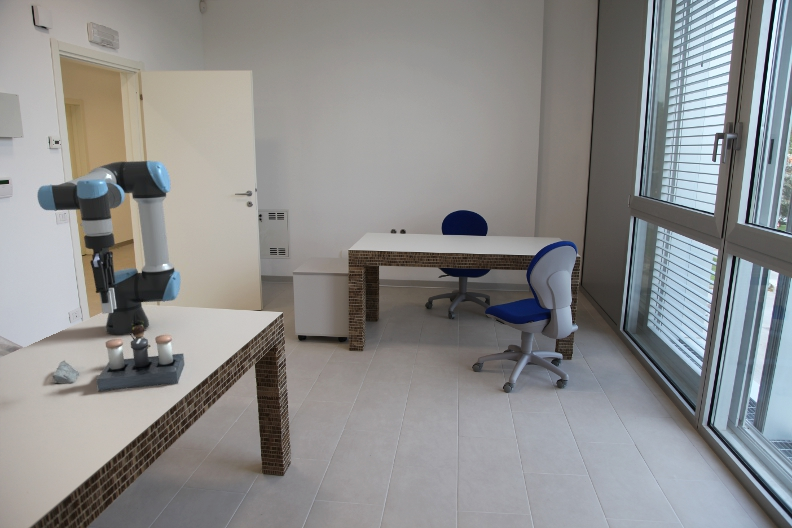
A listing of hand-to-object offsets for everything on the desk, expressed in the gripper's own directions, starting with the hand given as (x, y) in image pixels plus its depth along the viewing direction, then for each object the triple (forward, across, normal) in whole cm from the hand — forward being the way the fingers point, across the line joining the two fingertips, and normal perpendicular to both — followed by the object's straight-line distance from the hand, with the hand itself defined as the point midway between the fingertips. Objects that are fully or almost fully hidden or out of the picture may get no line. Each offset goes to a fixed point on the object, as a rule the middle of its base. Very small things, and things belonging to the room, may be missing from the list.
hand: (109, 310), depth 157 cm
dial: (+18, 0, +7) cm, 19 cm away
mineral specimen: (+23, -6, -17) cm, 29 cm away
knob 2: (+18, 0, +14) cm, 23 cm away
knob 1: (+18, 0, 0) cm, 18 cm away
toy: (+23, -14, +4) cm, 27 cm away
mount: (+23, 0, +7) cm, 24 cm away
